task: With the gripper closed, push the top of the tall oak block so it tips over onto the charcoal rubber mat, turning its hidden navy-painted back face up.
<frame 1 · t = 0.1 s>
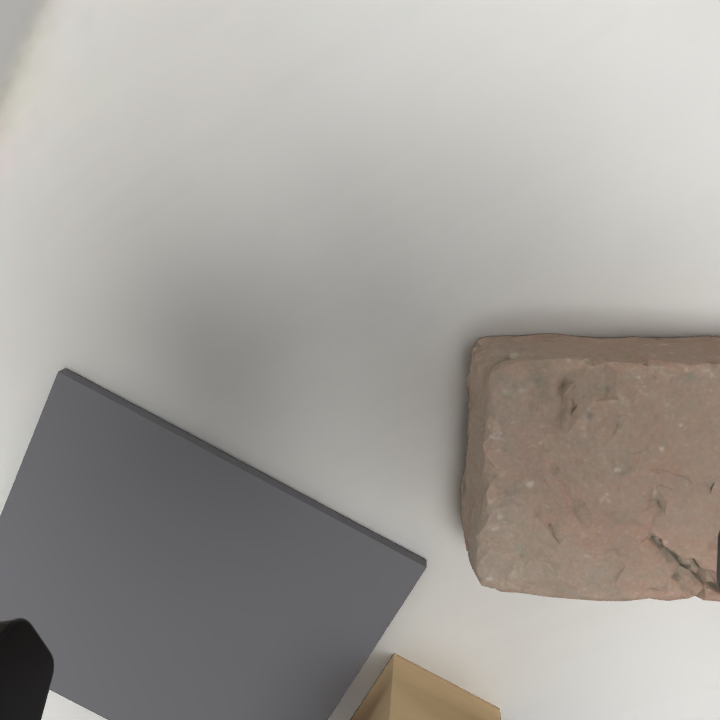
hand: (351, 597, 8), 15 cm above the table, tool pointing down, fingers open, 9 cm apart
brick: (689, 441, 23), on the table
mat: (178, 597, 27), on the table
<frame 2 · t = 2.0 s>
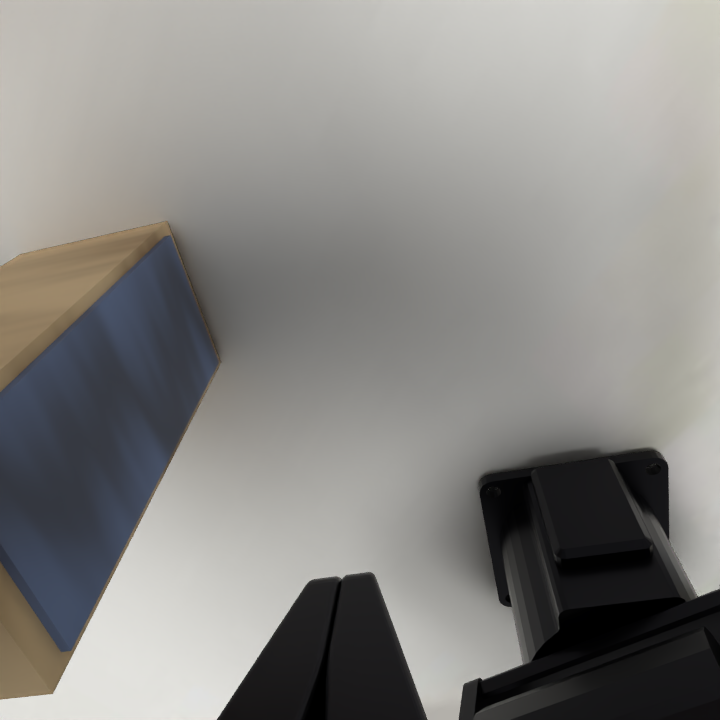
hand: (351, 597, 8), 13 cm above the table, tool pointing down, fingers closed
oak block: (124, 310, 21), on the table
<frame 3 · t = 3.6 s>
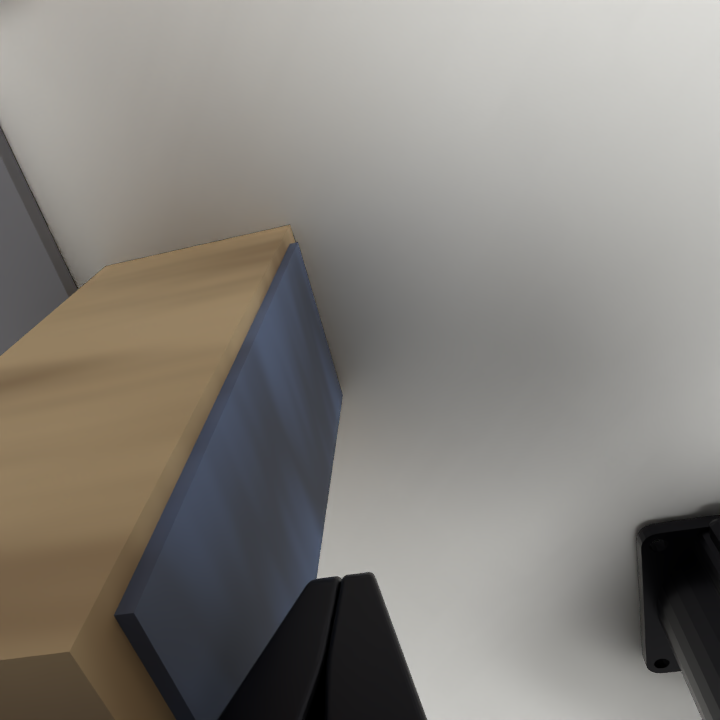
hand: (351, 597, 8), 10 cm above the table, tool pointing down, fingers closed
oak block: (227, 333, 17), on the table, touching gripper
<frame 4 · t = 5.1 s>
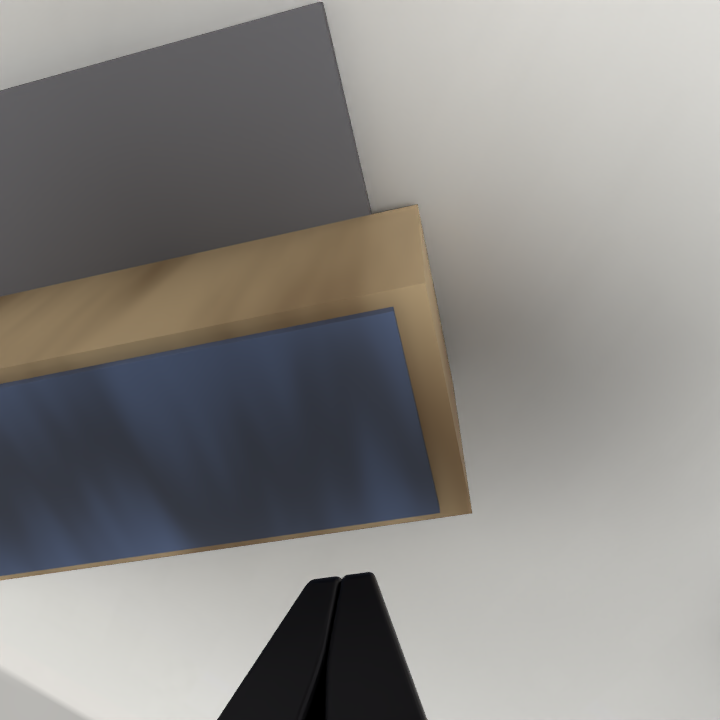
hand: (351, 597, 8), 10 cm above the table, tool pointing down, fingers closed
mat: (112, 357, 18), on the table
oak block: (442, 346, 14), point 3 cm above the table, tilted 90°, touching mat
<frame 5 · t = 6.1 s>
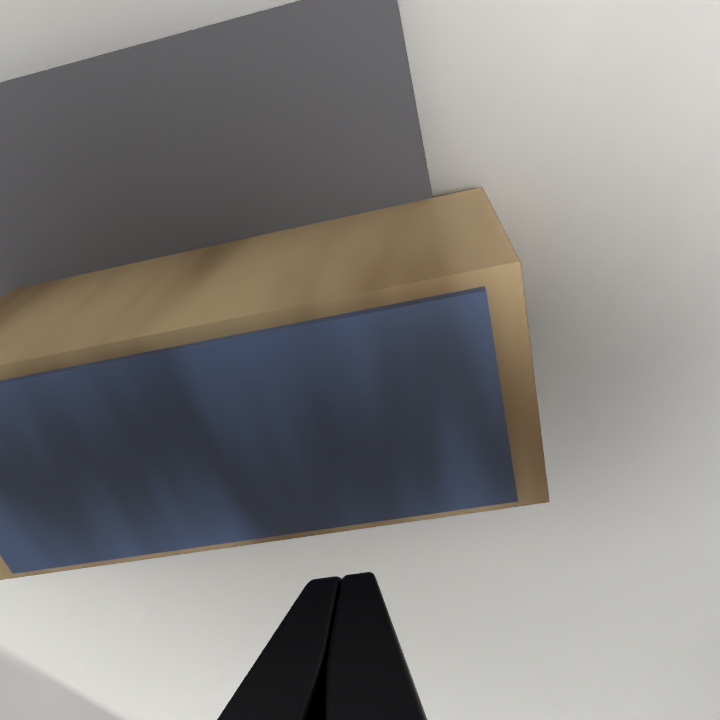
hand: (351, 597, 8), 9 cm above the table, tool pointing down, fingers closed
mat: (158, 345, 17), on the table
oak block: (513, 331, 13), point 3 cm above the table, tilted 90°, touching mat
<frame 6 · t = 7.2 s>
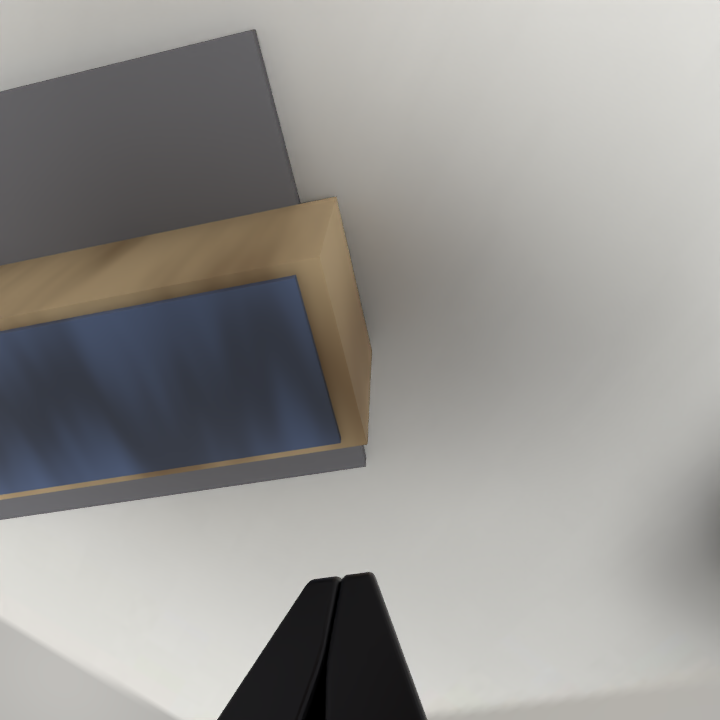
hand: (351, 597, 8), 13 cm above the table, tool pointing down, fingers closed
mat: (82, 323, 21), on the table
oak block: (350, 312, 17), point 3 cm above the table, tilted 90°, touching mat
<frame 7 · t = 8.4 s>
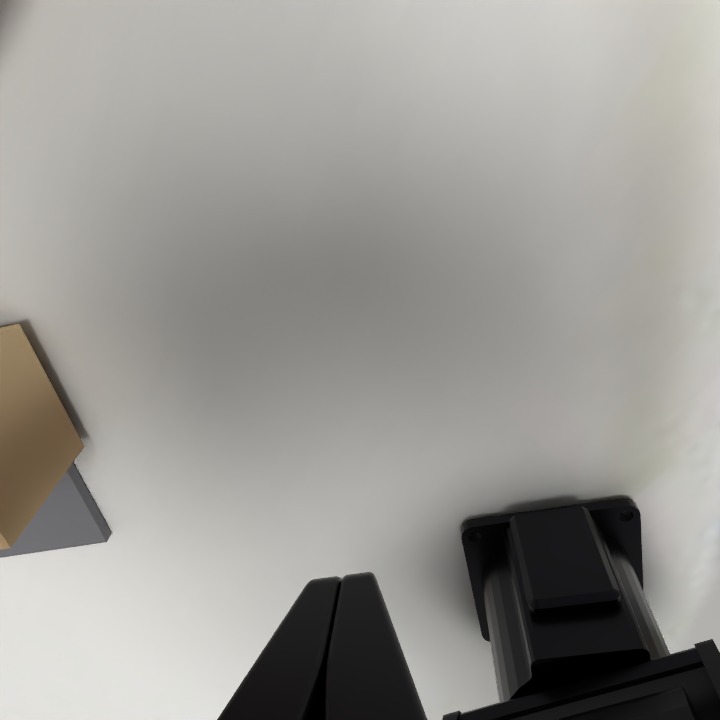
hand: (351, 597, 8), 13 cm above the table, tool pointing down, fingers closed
oak block: (15, 429, 20), point 3 cm above the table, tilted 90°, touching mat
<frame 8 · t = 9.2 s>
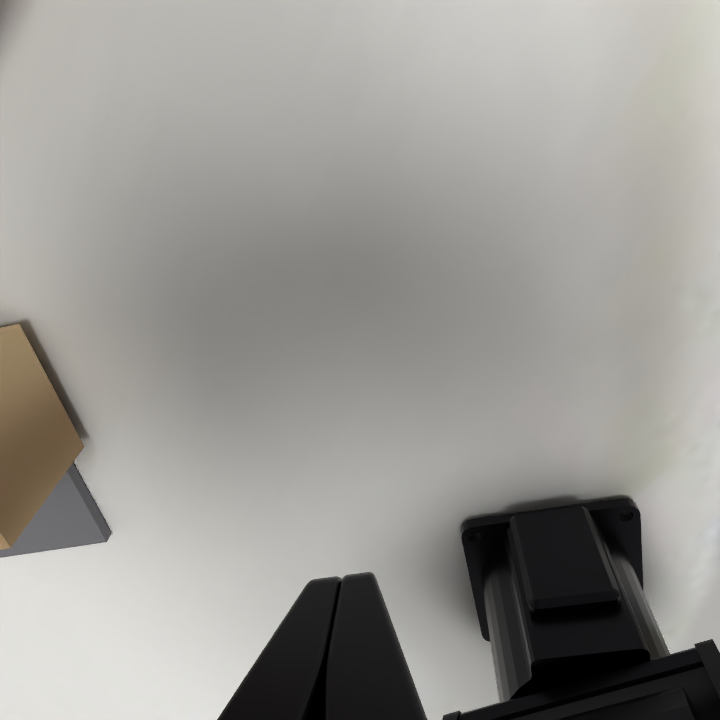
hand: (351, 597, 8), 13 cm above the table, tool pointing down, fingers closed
oak block: (15, 429, 20), point 3 cm above the table, tilted 90°, touching mat
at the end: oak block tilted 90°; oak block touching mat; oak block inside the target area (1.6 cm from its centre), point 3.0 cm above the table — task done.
